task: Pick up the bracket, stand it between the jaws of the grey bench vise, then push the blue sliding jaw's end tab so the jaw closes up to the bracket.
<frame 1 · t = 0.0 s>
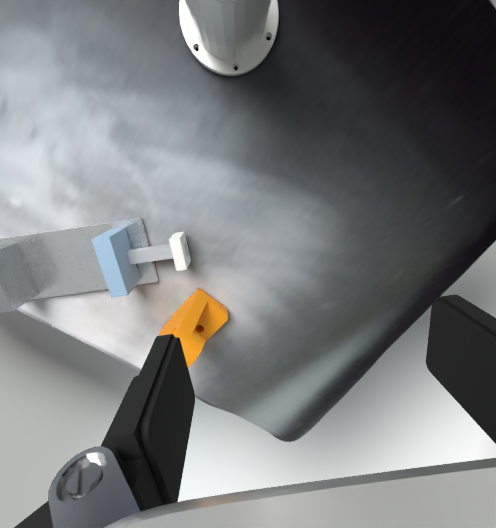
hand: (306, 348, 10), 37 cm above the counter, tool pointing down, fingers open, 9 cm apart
vise: (80, 259, 47), on the counter
bracket: (196, 316, 52), on the counter
sliding jaw: (147, 257, 43), point 4 cm above the counter, slide at 0.0 cm
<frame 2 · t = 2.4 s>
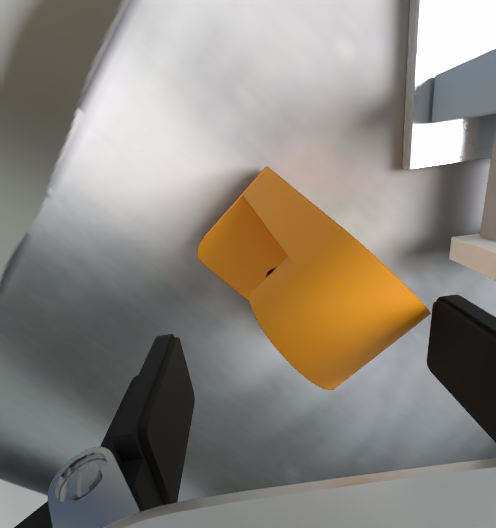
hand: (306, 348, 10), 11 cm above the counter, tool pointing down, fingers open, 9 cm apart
bracket: (282, 253, 21), on the counter, touching gripper
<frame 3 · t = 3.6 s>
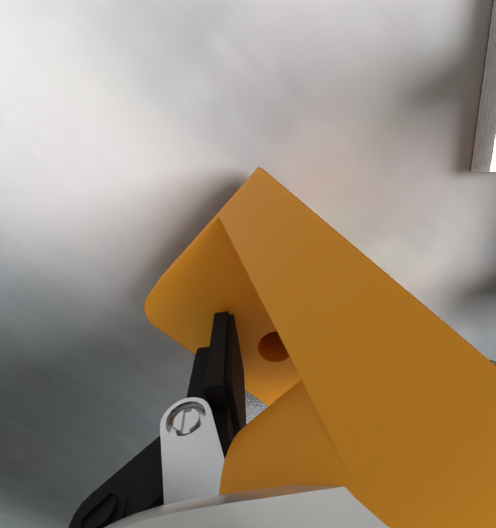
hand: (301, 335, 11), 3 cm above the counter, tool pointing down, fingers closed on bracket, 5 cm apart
bracket: (283, 298, 14), on the counter, touching gripper
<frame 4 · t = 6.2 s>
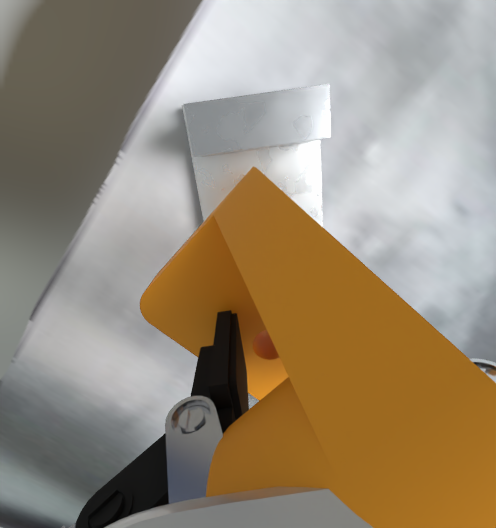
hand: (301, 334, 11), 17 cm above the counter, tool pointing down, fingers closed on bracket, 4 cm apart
vise: (264, 237, 28), on the counter
bracket: (279, 296, 14), point 14 cm above the counter, touching gripper
when the fingers open (5 cm above the counter, at t = 8.5 s): bracket drops 1 cm, resting on vise.
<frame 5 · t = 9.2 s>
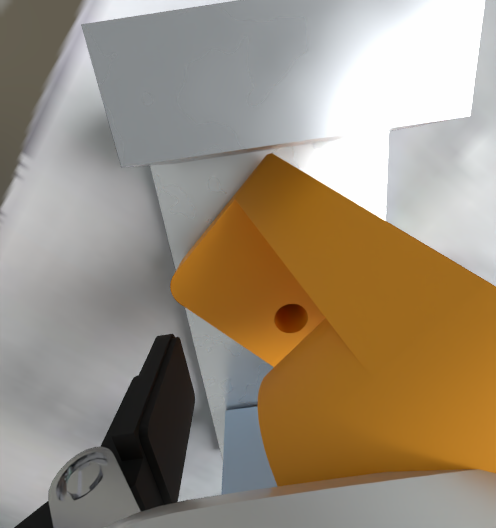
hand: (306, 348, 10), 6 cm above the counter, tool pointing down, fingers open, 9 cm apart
vise: (281, 295, 17), on the counter
bracket: (294, 277, 15), point 1 cm above the counter, touching gripper, vise
sliding jaw: (311, 512, 17), point 4 cm above the counter, slide at 0.0 cm
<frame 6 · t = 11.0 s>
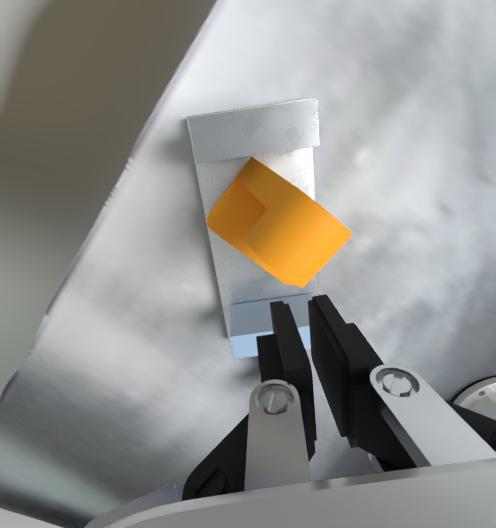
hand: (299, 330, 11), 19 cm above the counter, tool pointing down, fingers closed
vise: (262, 235, 30), on the counter
bracket: (269, 222, 28), point 1 cm above the counter, touching vise
sliding jaw: (279, 359, 30), point 4 cm above the counter, slide at 0.0 cm
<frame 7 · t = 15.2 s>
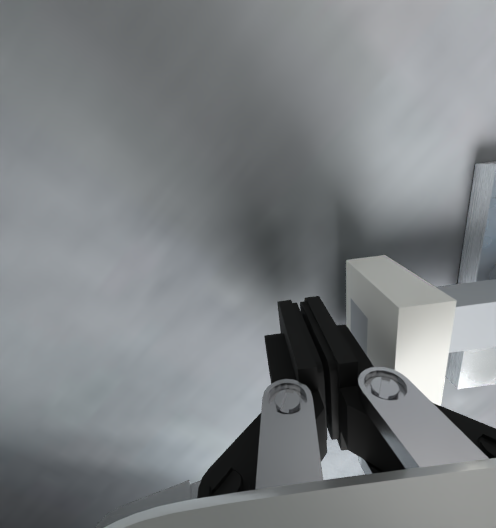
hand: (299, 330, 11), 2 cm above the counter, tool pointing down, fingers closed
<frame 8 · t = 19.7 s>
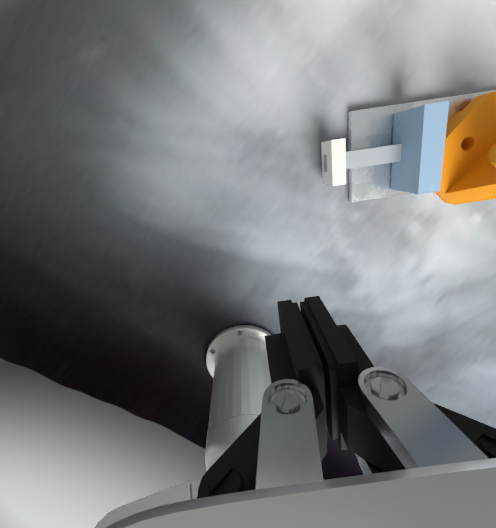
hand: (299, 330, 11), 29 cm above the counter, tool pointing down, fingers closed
vise: (439, 145, 37), on the counter
bracket: (455, 150, 36), point 1 cm above the counter, touching vise
sliding jaw: (377, 156, 33), point 4 cm above the counter, slide at 2.6 cm
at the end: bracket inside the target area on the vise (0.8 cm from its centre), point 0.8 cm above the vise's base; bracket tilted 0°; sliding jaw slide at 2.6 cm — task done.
